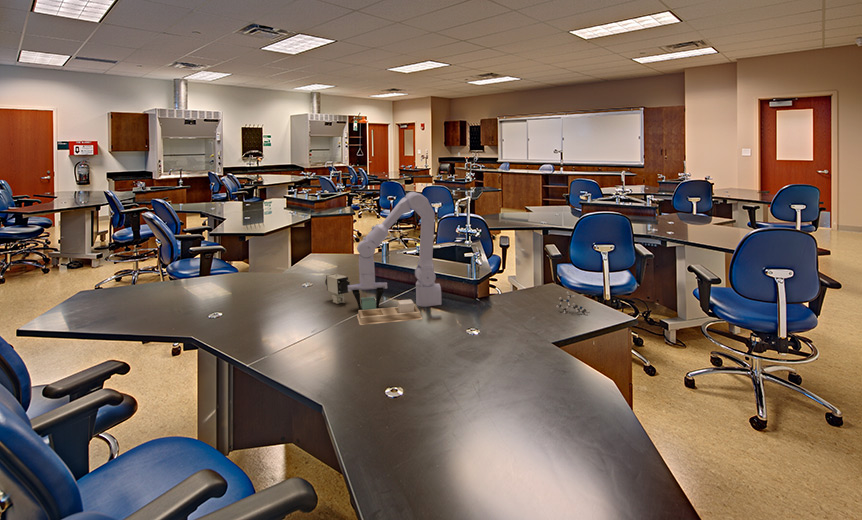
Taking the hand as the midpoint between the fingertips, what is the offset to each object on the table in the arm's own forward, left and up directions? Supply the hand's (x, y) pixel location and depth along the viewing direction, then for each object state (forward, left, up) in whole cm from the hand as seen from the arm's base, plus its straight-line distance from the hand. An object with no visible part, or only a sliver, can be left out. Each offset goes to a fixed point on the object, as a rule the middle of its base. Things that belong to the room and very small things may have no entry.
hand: (368, 308), depth 188 cm
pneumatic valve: (+10, -16, -2) cm, 19 cm away
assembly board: (-6, +12, -1) cm, 13 cm away
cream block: (-12, +12, 0) cm, 17 cm away
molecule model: (-72, +23, -2) cm, 75 cm away
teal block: (0, 0, -2) cm, 2 cm away
